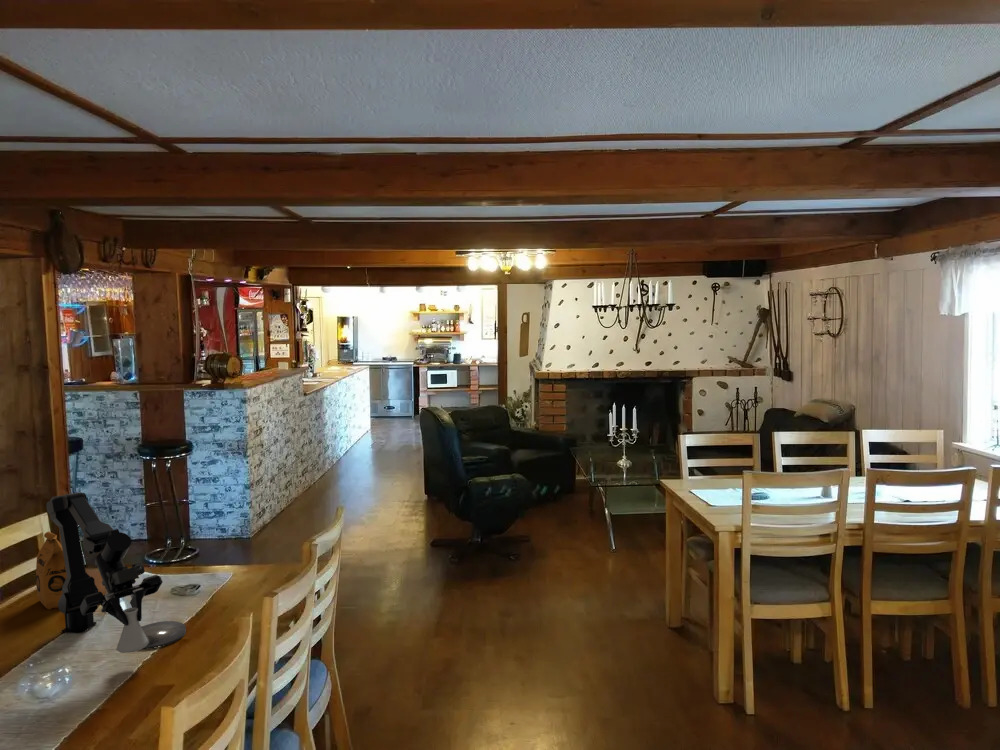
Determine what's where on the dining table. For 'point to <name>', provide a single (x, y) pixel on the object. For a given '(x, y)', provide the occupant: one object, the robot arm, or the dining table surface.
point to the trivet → (163, 633)
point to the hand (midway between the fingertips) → (133, 622)
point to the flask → (132, 634)
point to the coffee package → (50, 571)
